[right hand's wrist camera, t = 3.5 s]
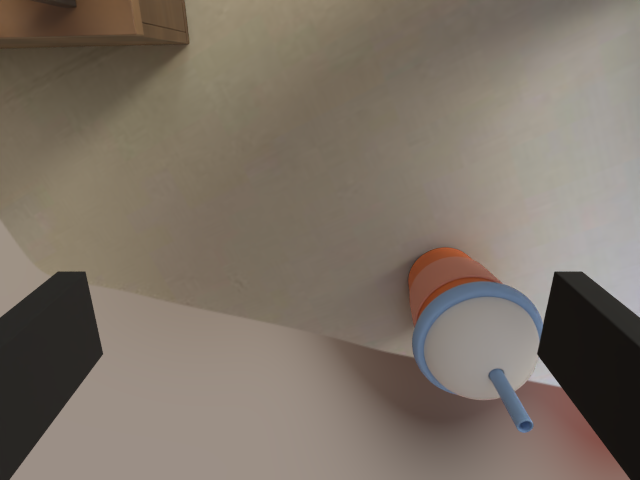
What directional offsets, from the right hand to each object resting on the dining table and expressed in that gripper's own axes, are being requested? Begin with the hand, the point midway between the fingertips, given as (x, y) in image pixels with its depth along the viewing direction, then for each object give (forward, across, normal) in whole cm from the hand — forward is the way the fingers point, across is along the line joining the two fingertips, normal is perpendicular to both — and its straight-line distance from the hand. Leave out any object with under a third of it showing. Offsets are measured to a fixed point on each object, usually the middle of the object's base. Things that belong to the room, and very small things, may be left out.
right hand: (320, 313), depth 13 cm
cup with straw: (+26, +11, -12) cm, 30 cm away
